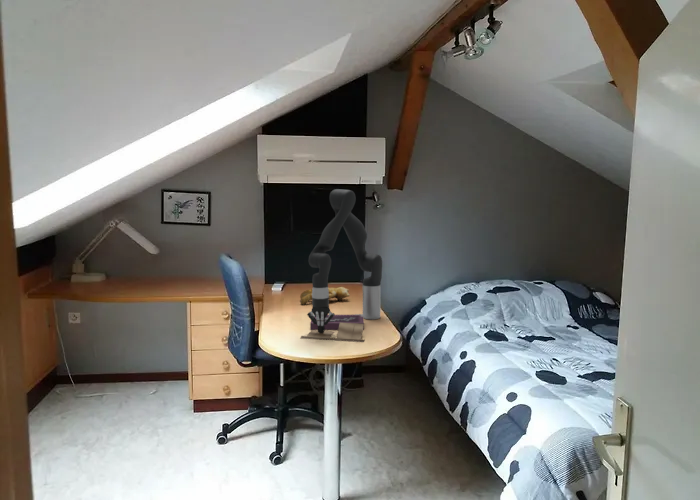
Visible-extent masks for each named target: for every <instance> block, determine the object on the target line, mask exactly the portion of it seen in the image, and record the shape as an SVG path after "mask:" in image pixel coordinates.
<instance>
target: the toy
mask: <svg viewBox="0 0 700 500" xmlns="http://www.w3.org/2000/svg"><path fill="white" fill-rule="evenodd" d="M312 289H313V288H312ZM312 289H307V290H305V291H302V292H301V293H300V305H306V304H308V302H309V301H312ZM328 290H329V300H331V299H337V300H338V301H342V300H343V299H345V298H347V297H350V295H351V294H350V293H349V290H350V289H349V288H346V287H344V286H340V287H339V286H338V287H328Z"/></svg>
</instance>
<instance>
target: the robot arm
mask: <svg viewBox="0 0 700 500" xmlns="http://www.w3.org/2000/svg"><path fill="white" fill-rule="evenodd" d="M356 200H357V199H356V194H355V192H354V191H353V190H350V189H339V188H336V189H335V188H334V189H333V190H332V191H330V193H329V203H330V205H331V208H332V209H333V211H334V213H335V214H336V215H335V216H334V217H333V218H332V219H331V220H330V222H329V223H328V224H327V225H326V226H325V227H324V229H323V230H322V232H321V235H320V237H319V239H318V240H319V241H318V243H317V244H316V245H315V246H314V248H313V249H312V250H311V251H310V254H309V256H308V264H309V266H310V267H311V268H313V269H319V270H318V272H316V273H314V274H313V275H312V300H311V302H312V303H311V304H312V305H311V306H312V308H311V311H309V312H308V313H307V314H306V315H307V317H308V318H309V319H310V322H311V321H312V322H313V323H314V324H317V325H318V330H317V331H318V332H319V333H321V334H322V333H323V332H324V331H326V330H325V325H327V324H328V322H329V321H330V320H331V319H332V317H333V316H334V315H336V314H335V313H334V312H332V311H331V309H330V299H329V290H328V288H329V275H330V270H331V266H332V258H331V256H330V255H329V253H326V252H328V251H332V250H333V249H334V246H335V243H336V241H337V239H338V236H339V234H340V232H341V229H342V228H343V229H344V231H345V234H346V235H347V238H348V240H349V242H350V244H351V246H352V248H353V251H354V254H355V257H356V260H357V262H358V267H359V268H360V270H361V271H364V272H368V273H369V272H370V276H369V277H366V278H363V280H362V314H363V319H366V320H378V319H381V287H382V285H381V283H382V278H383V277H382V274H383V273H382V272H383V258H382V256H381V255H380V254H375V253H368V252H367V251H366V248H365V246H366V242H367V240H368V234H367V231H366V228H365V226H364V224H363V223H362V221H361V220H360V219H358V217H356V216H355V215H354V214H353V213H352V210H353V208H354V207H355V204H356ZM313 314H314V315H315V317H316V318H315V317H314V316H313ZM327 315H329V318H328V319H327V321H325V317H326V316H327ZM316 319H317V320H316Z"/></svg>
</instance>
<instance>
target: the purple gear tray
mask: <svg viewBox="0 0 700 500" xmlns="http://www.w3.org/2000/svg"><path fill="white" fill-rule="evenodd" d="M313 316H314V317H315V315H314V314H313ZM315 318H316V317H315ZM328 318H329V314H328V315H327V316H326V317H325V321H327V319H328ZM364 319H365V318H363V313H355V314H335V315H334V316H333V317H332V319H331V320H330V321H329V322H328V324H327V325H325V331H333V330H335V331H336V330H337V331H338V328H339V324H340V323H358V324H364V325H365V320H364ZM316 320H317V319H316ZM309 327H310V329H309V330H310V331H311V330H315V331H318V325H317V324H314V323H313V322H312V321H311V320H310V324H309ZM364 330H365V326H364V327H363V331H364Z"/></svg>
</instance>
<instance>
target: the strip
mask: <svg viewBox="0 0 700 500" xmlns="http://www.w3.org/2000/svg"><path fill="white" fill-rule="evenodd" d="M299 339H301V340H302V339H303V340H315V341H316V340H318V341H334V342H335V341H336V342H348V343H350V342H352V343H365V339H362V338H361V339H346V338H336V337H330V338H329V337H312V336H307V335H301V336H300V338H299Z"/></svg>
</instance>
